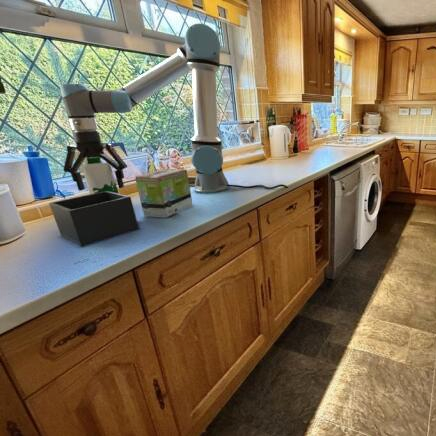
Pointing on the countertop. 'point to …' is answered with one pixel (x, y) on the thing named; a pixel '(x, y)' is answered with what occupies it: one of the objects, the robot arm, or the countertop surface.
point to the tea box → (164, 192)
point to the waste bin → (94, 217)
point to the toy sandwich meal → (191, 180)
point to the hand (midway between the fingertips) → (102, 188)
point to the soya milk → (99, 176)
